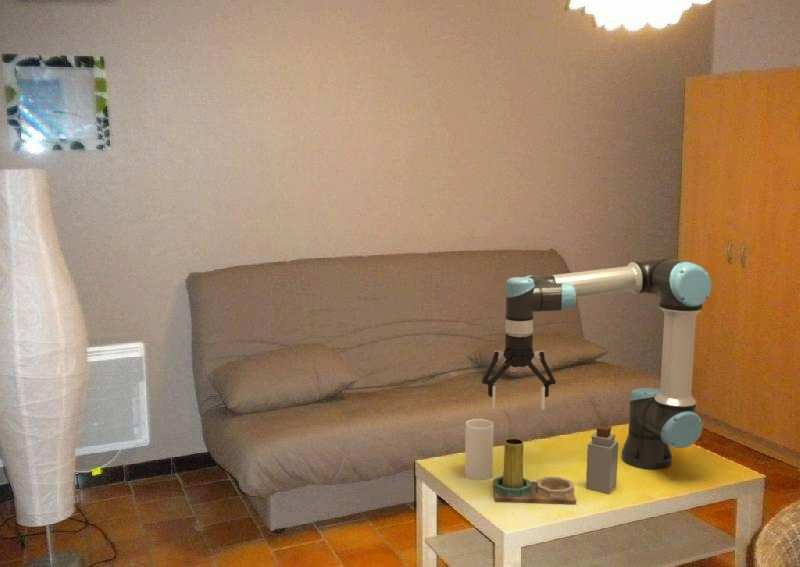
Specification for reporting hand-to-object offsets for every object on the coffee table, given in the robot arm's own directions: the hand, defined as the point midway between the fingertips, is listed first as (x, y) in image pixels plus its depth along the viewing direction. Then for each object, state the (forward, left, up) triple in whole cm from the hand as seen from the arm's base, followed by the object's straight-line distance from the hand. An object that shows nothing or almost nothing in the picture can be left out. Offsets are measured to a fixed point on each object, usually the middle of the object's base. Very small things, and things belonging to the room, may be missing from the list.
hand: (518, 407), depth 220 cm
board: (-5, +1, -25) cm, 25 cm away
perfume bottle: (-25, -5, -25) cm, 36 cm away
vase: (+1, +1, -24) cm, 24 cm away
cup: (+10, -12, -25) cm, 29 cm away
